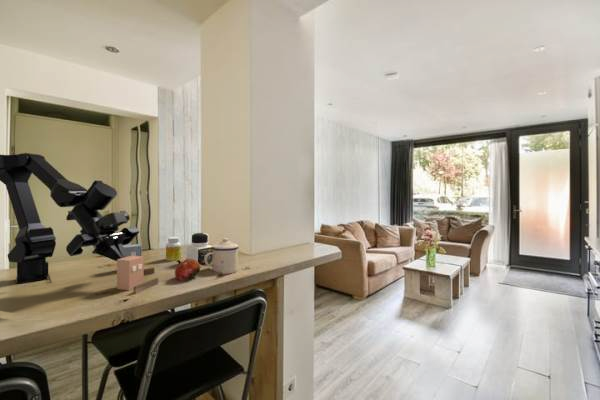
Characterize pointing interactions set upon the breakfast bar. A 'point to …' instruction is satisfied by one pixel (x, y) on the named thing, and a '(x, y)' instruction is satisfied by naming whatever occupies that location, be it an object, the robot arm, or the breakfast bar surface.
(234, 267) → the teacup with lid
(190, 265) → the pomegranate
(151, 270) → the plinth
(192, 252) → the medicine bottle
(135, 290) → the plinth
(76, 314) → the breakfast bar surface
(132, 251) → the blue block
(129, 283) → the pink box
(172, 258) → the supplement bottle
